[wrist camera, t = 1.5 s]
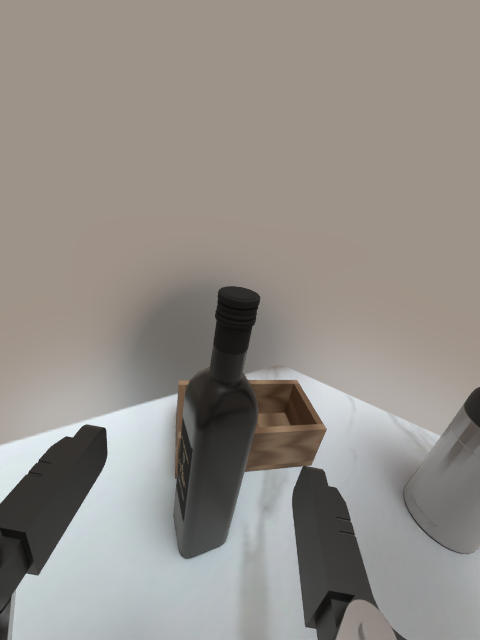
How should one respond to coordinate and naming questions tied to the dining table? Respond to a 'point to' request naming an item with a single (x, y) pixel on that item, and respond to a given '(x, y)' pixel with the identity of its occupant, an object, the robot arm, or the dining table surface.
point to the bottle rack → (274, 426)
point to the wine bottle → (216, 430)
